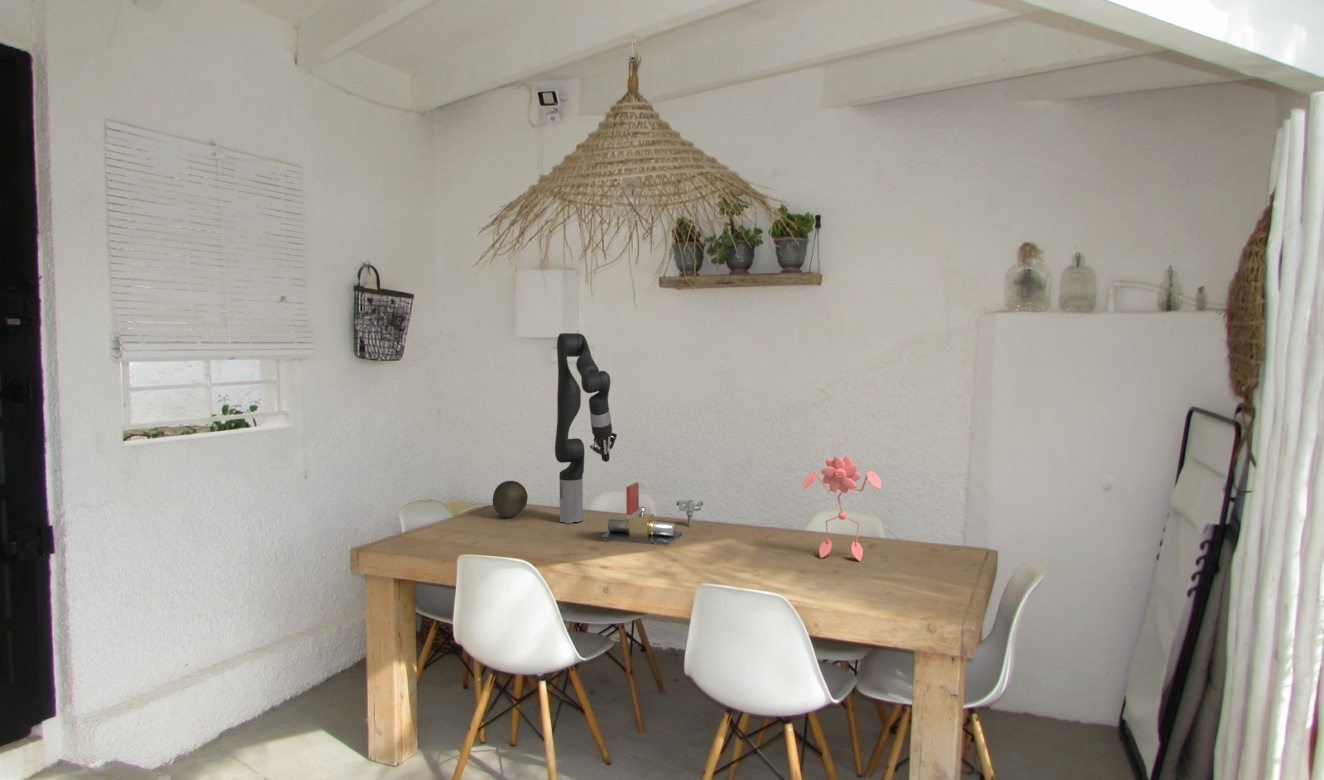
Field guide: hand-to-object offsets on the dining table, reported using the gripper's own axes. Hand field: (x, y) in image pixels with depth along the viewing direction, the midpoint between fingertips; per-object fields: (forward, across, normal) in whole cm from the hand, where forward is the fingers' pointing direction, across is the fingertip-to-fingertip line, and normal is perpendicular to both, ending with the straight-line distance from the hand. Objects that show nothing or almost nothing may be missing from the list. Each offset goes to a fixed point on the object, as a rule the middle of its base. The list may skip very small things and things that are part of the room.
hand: (606, 460), depth 317 cm
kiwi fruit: (+30, +20, -39) cm, 54 cm away
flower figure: (+12, -10, +94) cm, 96 cm away
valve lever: (+9, +11, +24) cm, 27 cm away
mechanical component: (+29, -15, +27) cm, 42 cm away
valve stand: (+20, +9, +24) cm, 32 cm away
